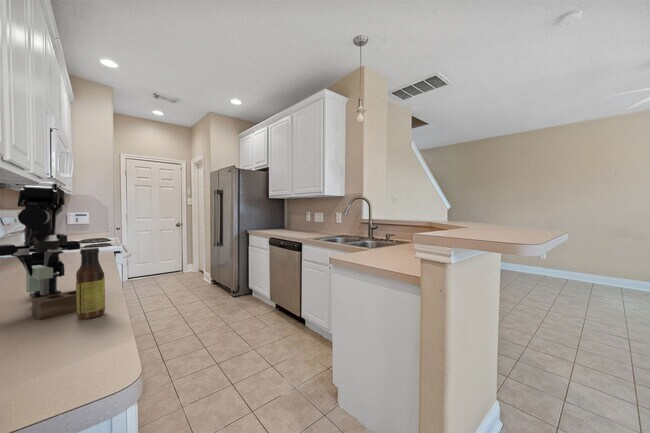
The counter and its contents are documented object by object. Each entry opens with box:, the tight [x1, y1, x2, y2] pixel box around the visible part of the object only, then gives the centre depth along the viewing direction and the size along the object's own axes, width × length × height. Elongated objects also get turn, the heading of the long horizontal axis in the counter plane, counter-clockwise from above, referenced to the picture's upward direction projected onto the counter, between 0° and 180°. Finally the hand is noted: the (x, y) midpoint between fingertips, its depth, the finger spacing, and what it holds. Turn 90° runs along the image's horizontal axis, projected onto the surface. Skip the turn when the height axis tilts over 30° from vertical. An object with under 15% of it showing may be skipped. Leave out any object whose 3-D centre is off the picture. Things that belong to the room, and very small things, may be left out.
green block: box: [25, 265, 54, 296], centre depth 82 cm, size 10×3×8 cm, turn 64°
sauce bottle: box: [75, 247, 106, 320], centre depth 76 cm, size 6×6×20 cm
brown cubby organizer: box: [31, 289, 77, 321], centre depth 79 cm, size 6×12×5 cm, turn 154°
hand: (38, 274), depth 82 cm, fingers closed on green block, 3 cm apart
